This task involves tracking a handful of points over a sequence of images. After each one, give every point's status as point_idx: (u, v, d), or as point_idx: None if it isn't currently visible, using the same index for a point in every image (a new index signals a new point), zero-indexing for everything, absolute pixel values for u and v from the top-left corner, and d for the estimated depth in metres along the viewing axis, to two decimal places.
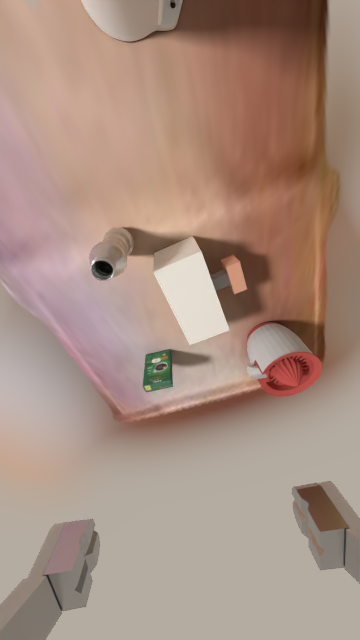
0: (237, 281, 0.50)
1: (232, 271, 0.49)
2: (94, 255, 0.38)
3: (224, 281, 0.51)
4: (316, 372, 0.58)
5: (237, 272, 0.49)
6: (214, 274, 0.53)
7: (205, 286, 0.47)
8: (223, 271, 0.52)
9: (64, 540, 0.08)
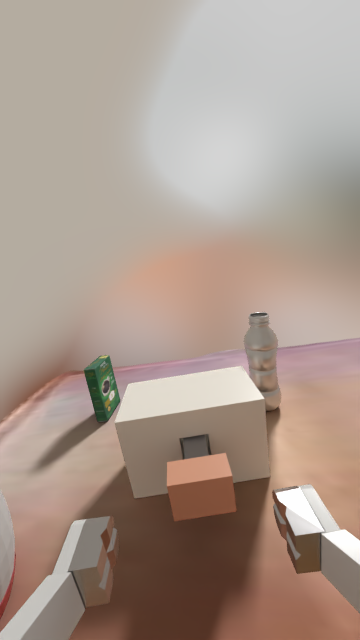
0: (192, 468, 0.25)
1: (215, 462, 0.26)
2: None
3: (196, 456, 0.28)
4: None
5: (210, 470, 0.25)
6: None
7: (209, 400, 0.31)
8: None
9: (86, 537, 0.08)
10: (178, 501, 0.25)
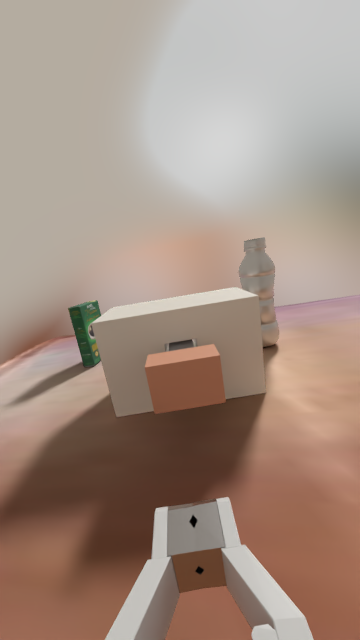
0: (174, 355, 0.22)
1: (201, 349, 0.23)
2: None
3: None
4: None
5: (195, 354, 0.22)
6: None
7: (197, 303, 0.28)
8: None
9: (175, 523, 0.08)
10: (158, 388, 0.21)
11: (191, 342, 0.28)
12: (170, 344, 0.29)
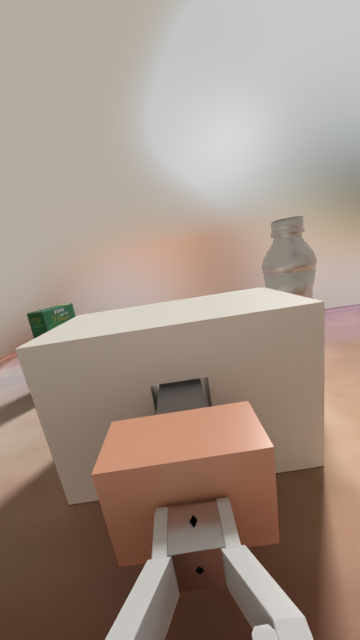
0: (166, 433, 0.10)
1: (224, 418, 0.10)
2: None
3: None
4: None
5: (212, 435, 0.10)
6: None
7: (210, 313, 0.16)
8: None
9: (175, 523, 0.08)
10: (125, 517, 0.09)
11: (198, 382, 0.16)
12: (161, 384, 0.16)
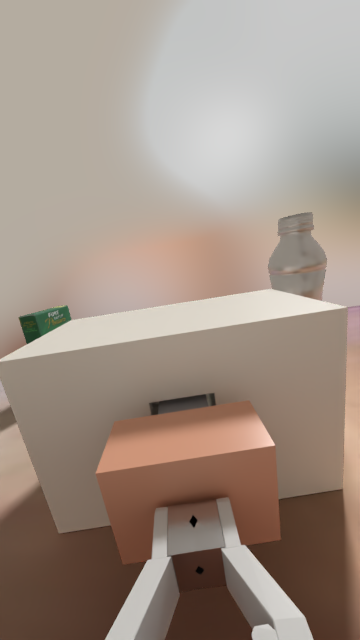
0: (168, 432, 0.10)
1: (226, 417, 0.11)
2: None
3: None
4: None
5: (214, 434, 0.10)
6: None
7: (217, 320, 0.14)
8: None
9: (175, 523, 0.08)
10: (129, 515, 0.09)
11: None
12: None
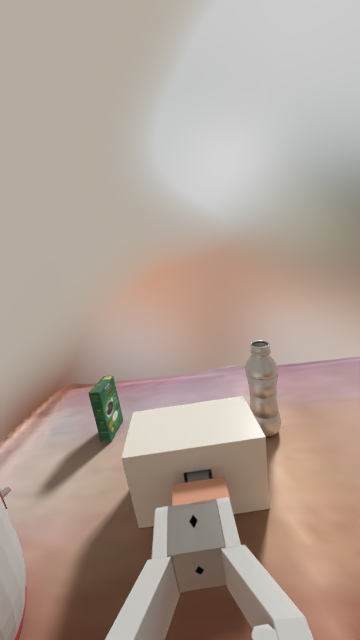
0: (194, 492, 0.29)
1: (215, 485, 0.29)
2: None
3: (198, 478, 0.32)
4: None
5: (210, 493, 0.28)
6: None
7: (212, 436, 0.33)
8: None
9: (175, 523, 0.08)
10: None
11: None
12: None
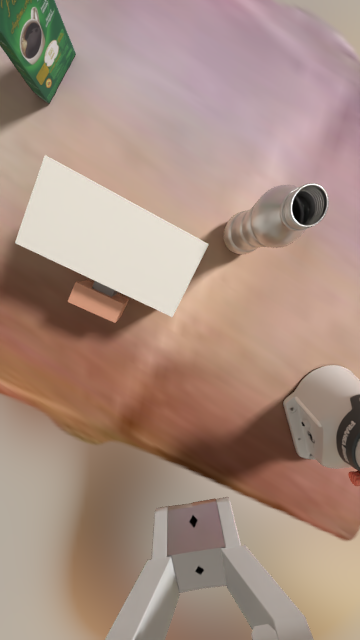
0: (91, 300, 0.31)
1: (111, 306, 0.32)
2: None
3: None
4: None
5: (103, 310, 0.32)
6: None
7: (125, 281, 0.28)
8: (115, 292, 0.34)
9: (175, 523, 0.08)
10: None
11: None
12: None
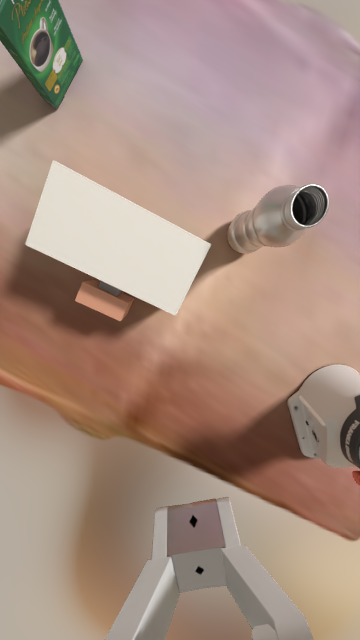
0: (97, 299, 0.32)
1: (116, 305, 0.33)
2: None
3: None
4: None
5: (109, 308, 0.33)
6: None
7: (130, 281, 0.29)
8: (121, 291, 0.35)
9: (175, 523, 0.08)
10: None
11: None
12: None
